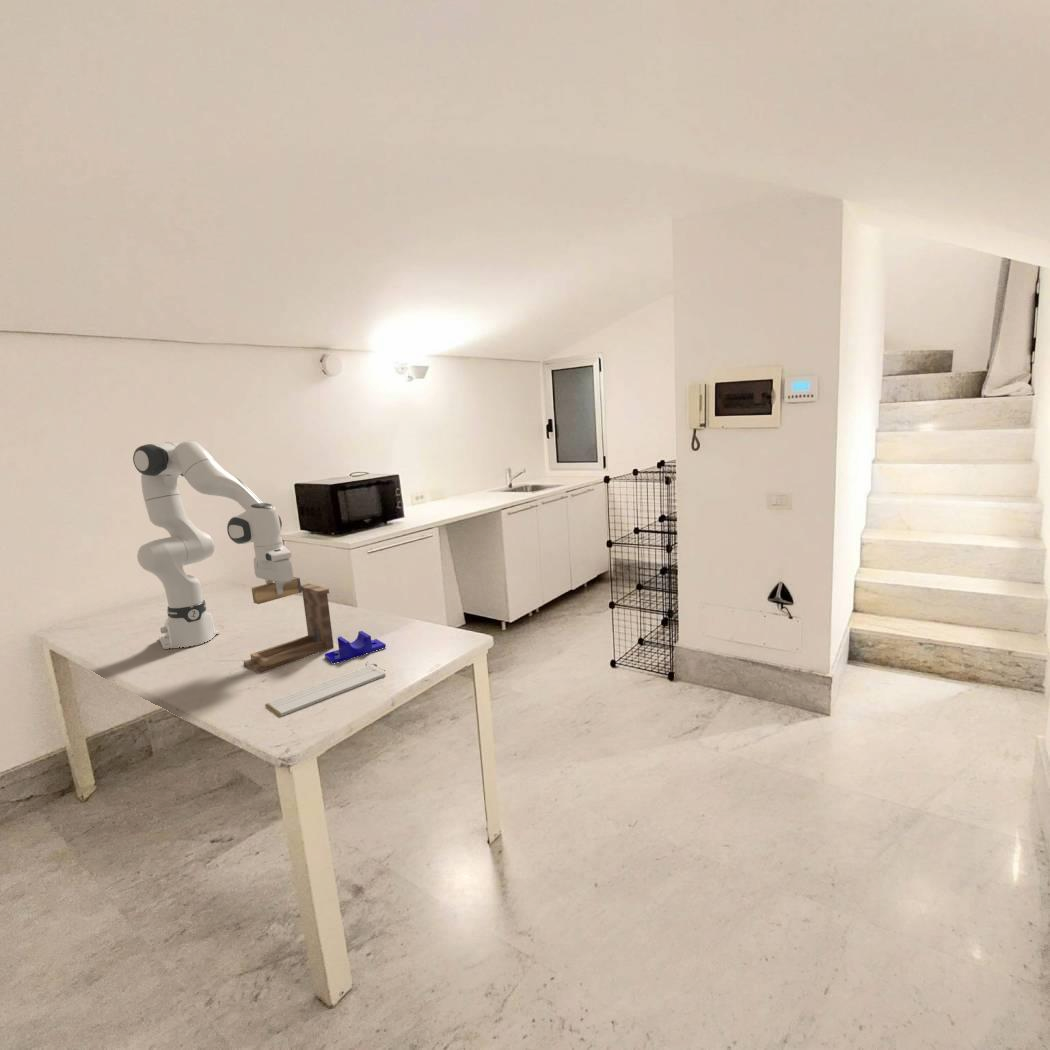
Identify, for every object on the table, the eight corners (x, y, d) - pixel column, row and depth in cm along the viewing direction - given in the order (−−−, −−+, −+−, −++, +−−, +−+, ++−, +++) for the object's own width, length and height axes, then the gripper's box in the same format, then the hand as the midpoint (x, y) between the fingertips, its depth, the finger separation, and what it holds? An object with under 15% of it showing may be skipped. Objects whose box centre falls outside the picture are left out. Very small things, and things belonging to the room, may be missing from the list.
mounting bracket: (333, 665, 188) (331, 647, 187) (325, 659, 194) (322, 641, 193) (386, 649, 199) (384, 632, 198) (376, 643, 205) (375, 627, 204)
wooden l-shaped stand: (243, 664, 193) (234, 602, 189) (316, 639, 211) (309, 583, 208) (261, 673, 184) (252, 609, 180) (335, 647, 202) (328, 588, 199)
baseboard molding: (264, 704, 164) (282, 718, 155) (262, 694, 163) (280, 708, 155) (365, 667, 185) (386, 678, 176) (364, 658, 184) (385, 668, 176)
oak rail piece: (253, 602, 195) (251, 587, 194) (296, 591, 206) (293, 576, 205) (258, 604, 192) (256, 589, 191) (301, 592, 203) (299, 578, 202)
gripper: (246, 552, 201) (252, 591, 203) (274, 556, 187) (281, 599, 189) (264, 548, 205) (270, 587, 208) (293, 552, 192) (300, 594, 194)
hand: (276, 593), depth 198 cm, fingers closed on oak rail piece, 3 cm apart
